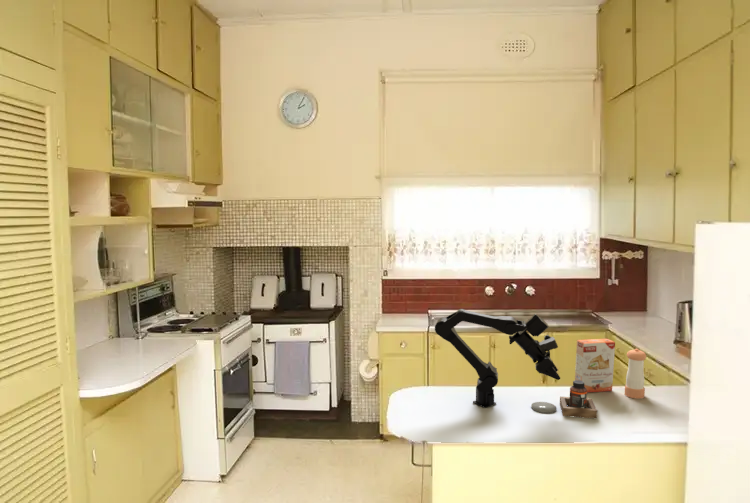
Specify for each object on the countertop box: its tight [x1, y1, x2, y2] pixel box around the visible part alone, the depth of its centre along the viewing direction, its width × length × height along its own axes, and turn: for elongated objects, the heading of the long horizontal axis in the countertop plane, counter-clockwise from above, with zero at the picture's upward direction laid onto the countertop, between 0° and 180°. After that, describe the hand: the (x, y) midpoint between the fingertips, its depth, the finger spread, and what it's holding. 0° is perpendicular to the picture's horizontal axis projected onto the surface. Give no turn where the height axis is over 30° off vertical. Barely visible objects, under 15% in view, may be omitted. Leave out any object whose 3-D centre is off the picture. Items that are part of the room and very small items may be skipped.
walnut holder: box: [559, 396, 598, 419], centre depth 209 cm, size 12×12×3 cm
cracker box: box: [574, 338, 616, 393], centre depth 229 cm, size 14×6×21 cm, turn 100°
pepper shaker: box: [624, 348, 647, 400], centre depth 223 cm, size 7×7×19 cm
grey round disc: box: [530, 401, 557, 414], centre depth 211 cm, size 9×9×1 cm
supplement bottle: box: [568, 379, 588, 408], centre depth 208 cm, size 6×6×11 cm
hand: (558, 375), depth 209 cm, fingers open, 9 cm apart
